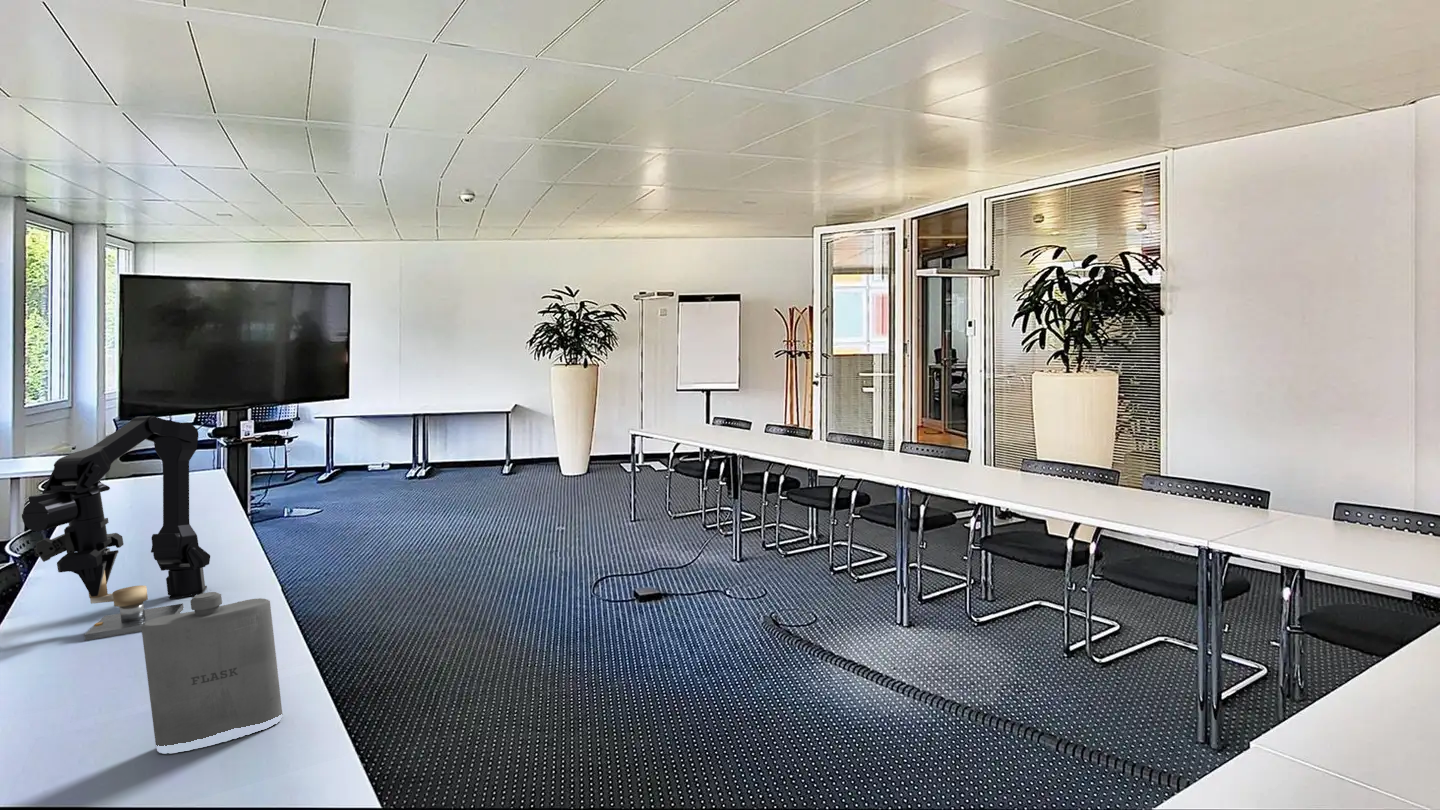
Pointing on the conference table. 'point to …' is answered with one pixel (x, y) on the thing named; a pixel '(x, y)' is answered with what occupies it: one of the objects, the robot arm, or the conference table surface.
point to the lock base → (128, 626)
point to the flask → (211, 669)
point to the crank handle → (120, 595)
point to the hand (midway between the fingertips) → (98, 592)
